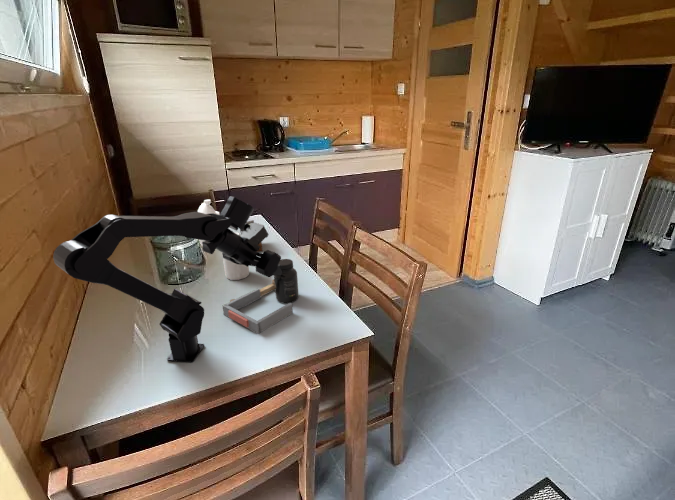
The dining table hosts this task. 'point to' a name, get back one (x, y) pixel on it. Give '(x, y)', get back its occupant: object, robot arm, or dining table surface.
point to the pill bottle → (235, 269)
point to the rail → (266, 289)
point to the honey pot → (206, 211)
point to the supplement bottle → (286, 282)
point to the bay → (256, 326)
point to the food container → (261, 242)
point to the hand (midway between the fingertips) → (269, 269)
